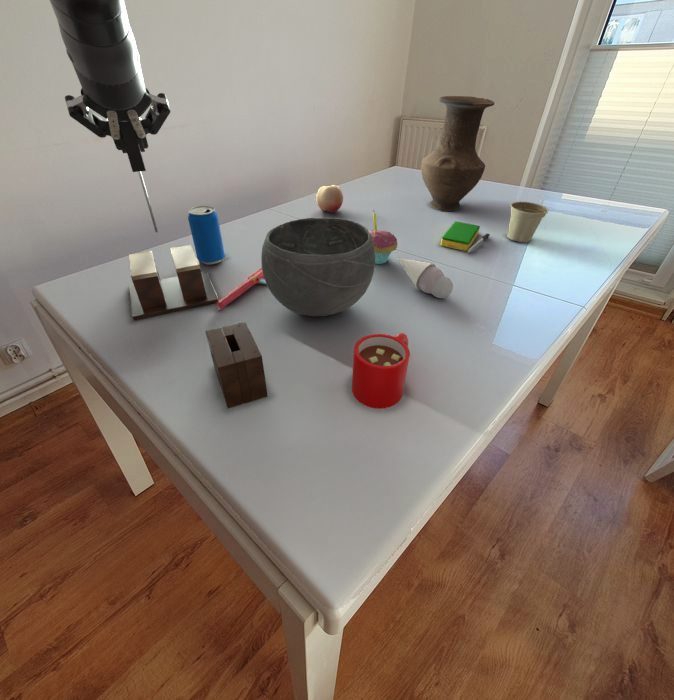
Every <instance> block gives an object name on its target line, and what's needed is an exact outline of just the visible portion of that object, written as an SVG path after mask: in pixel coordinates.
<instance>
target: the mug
mask: <svg viewBox="0 0 674 700" xmlns="http://www.w3.org/2000/svg"><path fill="white" fill-rule="evenodd" d="M410 356H411V353H410V348H409V337H408V335H407V334H405V333H404V332H400V333H397V334H395V335H394V336H393V335H390V334H385V333H372V334H369V335H365V336H362V337H361V338H360V339H358V340H357V341H356V343H355V344H354V347H353V360H352V361H353V362H352V375H351V376H352V377H351V393H352V395H353V397H354V399H355V400H356V401H357V402H358V403H360V404H361V405H363V406H365V407H368V408H372V409H379V410H381V409H382V410H383V409H387V408H391V407H393V406H395V405H397V404H399V402H400V401H401V399H402V398H403V395H404V388H405V384H406V377H407V372H408V368H409V362H410Z"/></svg>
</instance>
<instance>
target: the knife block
mask: <svg viewBox="0 0 674 700" xmlns="http://www.w3.org/2000/svg"><path fill="white" fill-rule="evenodd" d="M205 336H206V340H207V344H208V347H209V352H210V356H211V360H212V364H213V368H214V372H215V374H216V378H217V380H218V383H219V387H220V389H221V393H222V397H223V399H224V403H225V405H226V409H228V410H229V409H232V408H235V407H239V406H241V405H244V404H248V403H251V402H255V401H258V400H262V399H264V398H268V390H267V389H268V388H267V382H266V375H265V367H264V360H263V355H262V353H261V351H260V348H259V347H258V344H257V343H256V341H255V338H254V336H253V335H252V332H251V330H250V328H249V326H248V325H247V322H246V321H242V322H238V323H233V324H230V325H224V326H221V327H216V328H212V329H207V330H205Z"/></svg>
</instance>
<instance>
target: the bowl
mask: <svg viewBox="0 0 674 700" xmlns="http://www.w3.org/2000/svg"><path fill="white" fill-rule="evenodd" d="M369 232H370V231H369V229H368V228H367V227H366V226H364V225H362V224H360V223H359V222H355V220H350V219H346V218H337V217H308V218H299V219H294V220H290V221H288V222H284V223H282V224H279V225H277V226H276V227H273V228H272V229H270V230H269V231H268V232H267V233H266V235H265V238H264V241H263V242H262V243H263V244H262V246H261V255H260V256H261V258H260V261H261V262H260V263H261V268H262V271H263V275H264V278H265V279H264V280H265V281H266V284H267V285H266V284H265V285H266V286H267V288H268V290H269V292H270V293H271V294H272V296H273V297H274V298H275V299H276V300H277V301H278V303H280V304H281V305H282V306H284V308H286V309H287V310H289V311H291V312H293V313H296V314H298V315H302V316H307V317H327V316H332V315H335V314H339V313H341V312H344V311H346V310H348V309H350V308H352V306H354V305H355V304H356V303H357V302H358V301H359V300H361V298H362V297H363V296H364V295H365V293H366V292H367V290H368V289H369V288H370V285H371V283H372V280H373V276H374V272H375V269H376V268H375V267H376V264H375V250H374V247H373V246H374V245H373V241H372V237H371V235H370V233H369Z"/></svg>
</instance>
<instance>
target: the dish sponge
mask: <svg viewBox="0 0 674 700" xmlns="http://www.w3.org/2000/svg"><path fill="white" fill-rule="evenodd" d="M480 229H481V226H480V225H479V224H472V223H467V222H462V221H454V222H453V223H452V224H451V226H450V227H449V228H448V229H447V230H446V232H445V233H444V234H443V235H442V236H441V239H440V240H441V241H440V246H442V247H445V248H451V249H455V250H460V251H465V252H468V250H469V249H470V248H471V247H472V244H473V242H474V241H475V239H476V238H477V236H478V235H479V232H480Z"/></svg>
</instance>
